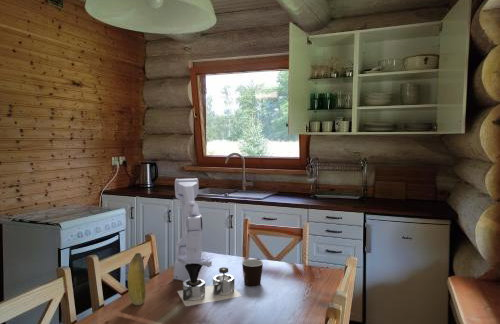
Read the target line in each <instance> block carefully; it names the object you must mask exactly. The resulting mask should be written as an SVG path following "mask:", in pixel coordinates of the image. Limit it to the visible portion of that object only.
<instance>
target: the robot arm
mask: <svg viewBox="0 0 500 324" xmlns="http://www.w3.org/2000/svg"><path fill="white" fill-rule="evenodd" d="M199 188H200V185H199V179H198V178H196V177H195V178H175V180H174V191H175V192H174V194H175V199H178V200H179V201H180V205H181V206H180V207H181V227H182V231H181V232H182V237H181V238H180V239H179V240H178V241H177V242H176V245H175V246H176V249H175V255H176V260H175V261H174V264H173V279H174V280H178V281H181V282H184V281H186V280H188V279H190V280H191V283H195V282H197V279H199V274H200V272H201V269H202V267H203V266H204V267H207V268H210V267H211V266H212V264H213V263H212V260H209V259H208V258H204V257H202V231H203V228H204V220H203V217H202V216H203V215H202V214H201V213H200V209H199V208H200V207H199V205H198V203H197V202H195V199H196V198H197V197H198V194H199Z"/></svg>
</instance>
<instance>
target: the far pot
mask: <svg viewBox="0 0 500 324" xmlns="http://www.w3.org/2000/svg"><path fill="white" fill-rule="evenodd" d="M222 276H223V273H220V274H219V273H218V274H216V275H214V276H213V277H212V285H213V293H214V295H220V296H226V295H230V294H232V293H234V288H235V277H234V276H233V275H232V274H227V273H225V276H226V277H229V278H230V280H228V281H219V280H218V278H219V277H222Z"/></svg>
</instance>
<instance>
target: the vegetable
mask: <svg viewBox="0 0 500 324" xmlns="http://www.w3.org/2000/svg"><path fill="white" fill-rule="evenodd" d="M145 276H146V275H145V263H144V260H143V257H142V253H140V252H136V253H135V254H134V255H133V257H132V259H131V261H130V262H129V265H128V271H127V290H128V295H129V299H130V301H131V303H132V304H133V305H134V306H141V305H143V304H144V303H145V301H146V280H145V279H146V278H145Z"/></svg>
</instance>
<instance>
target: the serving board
mask: <svg viewBox="0 0 500 324" xmlns="http://www.w3.org/2000/svg"><path fill="white" fill-rule="evenodd" d="M176 292H177V293H178V295H179V297H180V299H181V301H182V302H183V304H184V306H185V307H190V306H197V305H202V304H206V303H211V302H212V303H213V302H218V301H223V300H228V299H229V300H230V299H234V298H235V299H236V298H240V297H242V295H241V293H240V292H239V291H238V290H237V289H236V288H235V287H234V293H232V294H230V295H226V296H220V295H214V293H213V284H212V285H207V286H206V285H205V297H204V298H203V299H201V300H198V301H187V300H186V301H184V300H183V289H181V290H177V291H176Z"/></svg>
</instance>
